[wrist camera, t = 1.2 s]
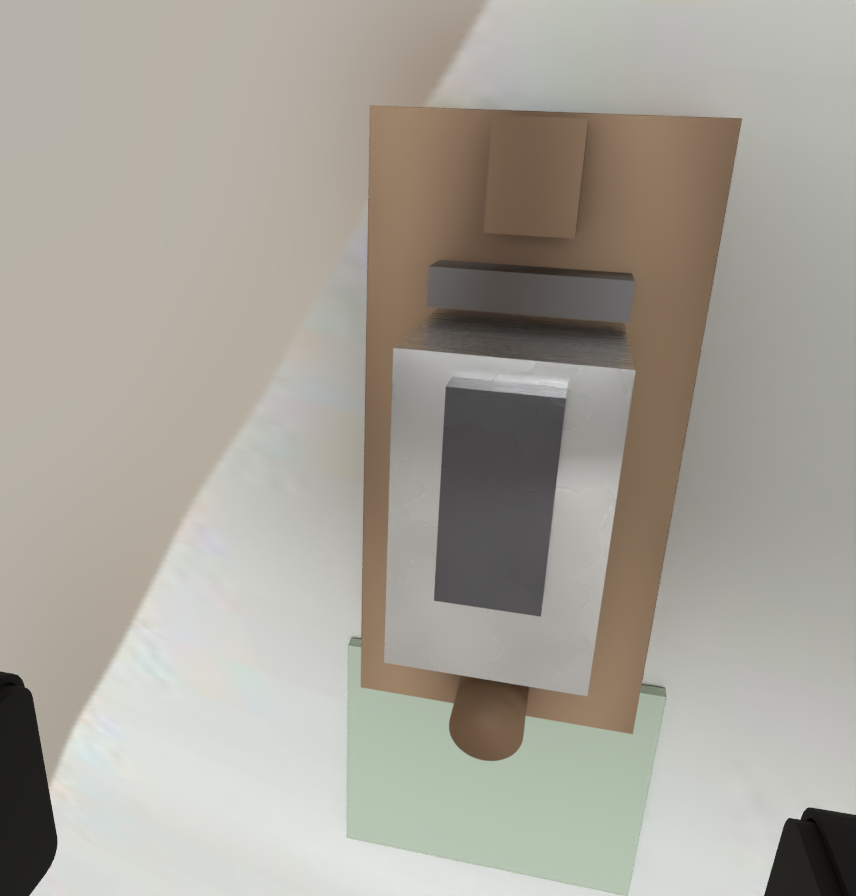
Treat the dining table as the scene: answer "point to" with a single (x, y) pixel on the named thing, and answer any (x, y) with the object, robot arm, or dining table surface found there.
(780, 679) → the dining table surface
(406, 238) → the plane body
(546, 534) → the lever cap
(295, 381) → the dining table surface
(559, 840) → the mat
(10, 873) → the robot arm
